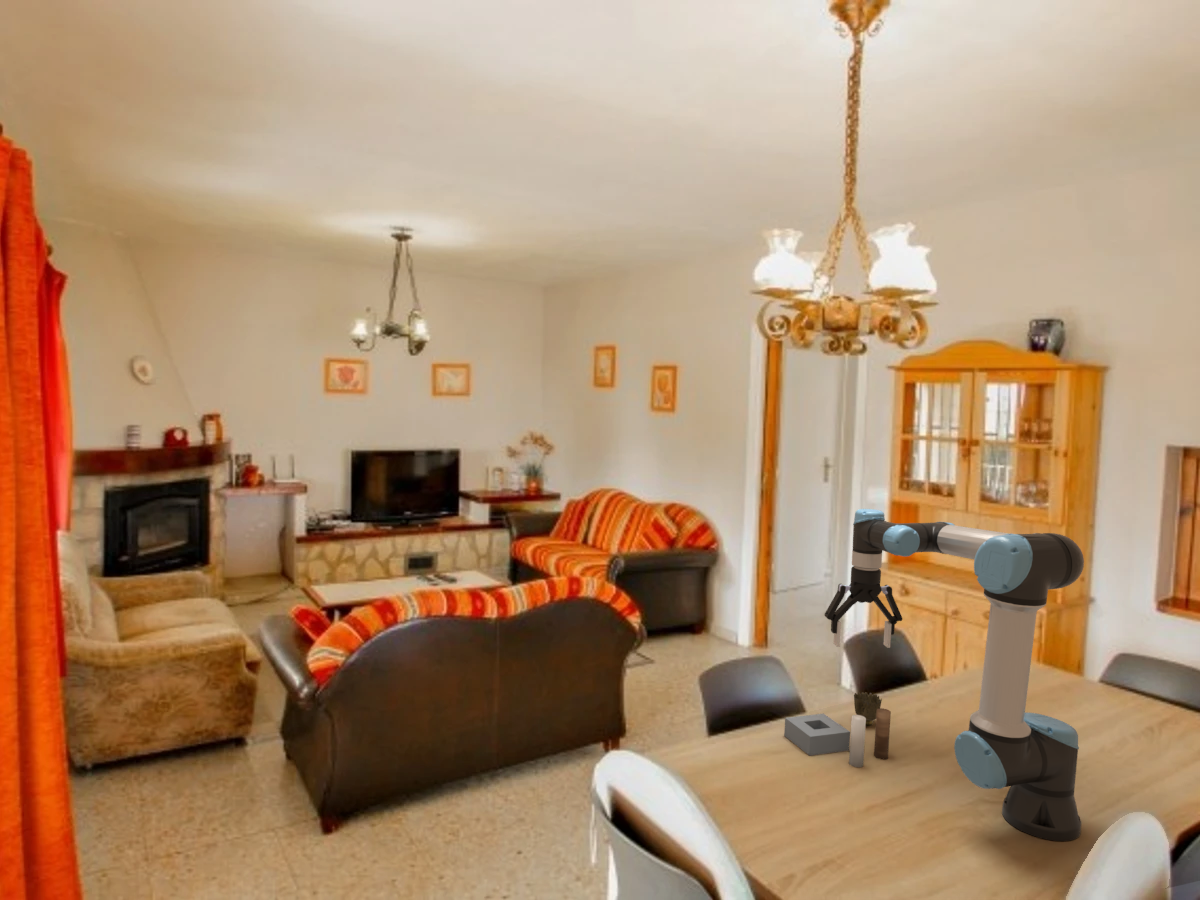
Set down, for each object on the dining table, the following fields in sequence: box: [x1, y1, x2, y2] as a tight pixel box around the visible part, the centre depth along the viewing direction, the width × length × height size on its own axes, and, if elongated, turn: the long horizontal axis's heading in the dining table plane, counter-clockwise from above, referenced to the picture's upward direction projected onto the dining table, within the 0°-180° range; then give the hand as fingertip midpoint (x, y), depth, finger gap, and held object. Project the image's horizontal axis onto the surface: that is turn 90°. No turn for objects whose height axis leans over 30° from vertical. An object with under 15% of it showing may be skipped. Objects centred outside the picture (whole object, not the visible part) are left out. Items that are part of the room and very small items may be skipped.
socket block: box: [783, 713, 851, 757], centre depth 211 cm, size 12×12×5 cm
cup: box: [853, 691, 883, 727], centre depth 224 cm, size 8×7×8 cm
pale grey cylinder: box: [848, 714, 867, 768], centre depth 199 cm, size 3×3×12 cm
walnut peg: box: [873, 707, 892, 760], centre depth 204 cm, size 3×3×12 cm
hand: (861, 645), depth 213 cm, fingers open, 13 cm apart
